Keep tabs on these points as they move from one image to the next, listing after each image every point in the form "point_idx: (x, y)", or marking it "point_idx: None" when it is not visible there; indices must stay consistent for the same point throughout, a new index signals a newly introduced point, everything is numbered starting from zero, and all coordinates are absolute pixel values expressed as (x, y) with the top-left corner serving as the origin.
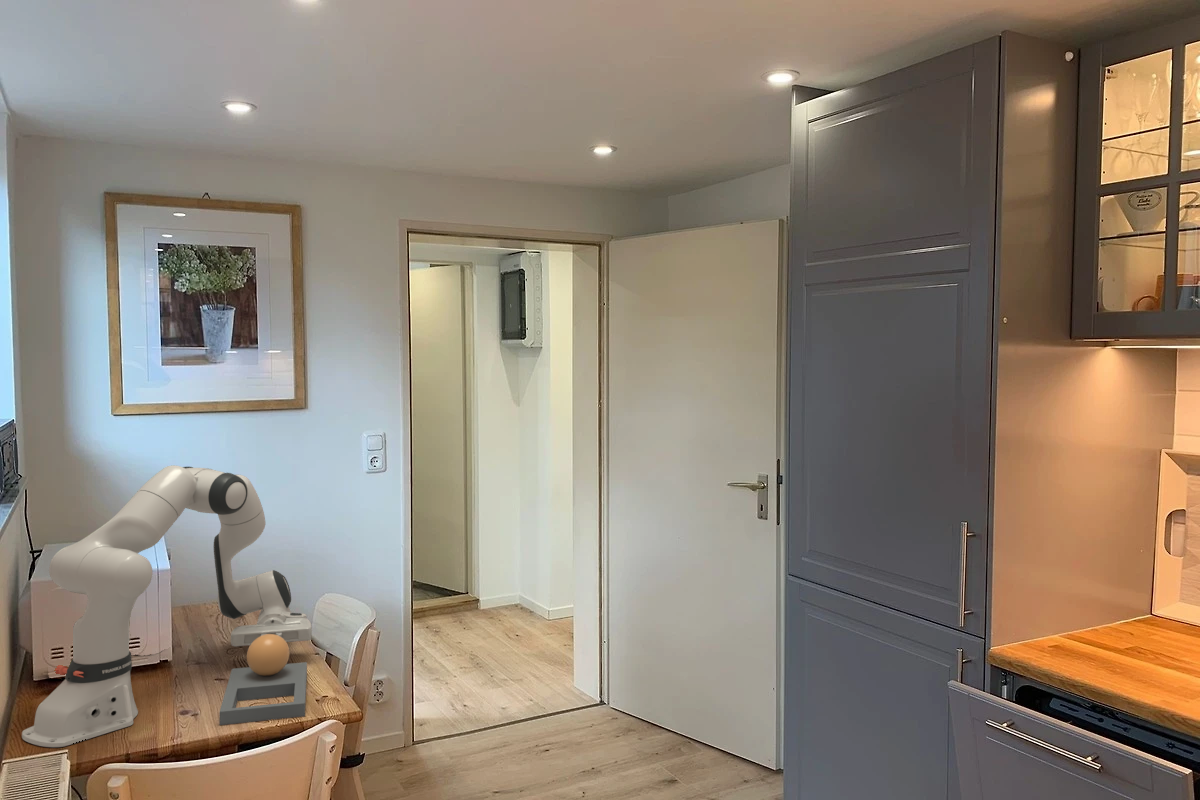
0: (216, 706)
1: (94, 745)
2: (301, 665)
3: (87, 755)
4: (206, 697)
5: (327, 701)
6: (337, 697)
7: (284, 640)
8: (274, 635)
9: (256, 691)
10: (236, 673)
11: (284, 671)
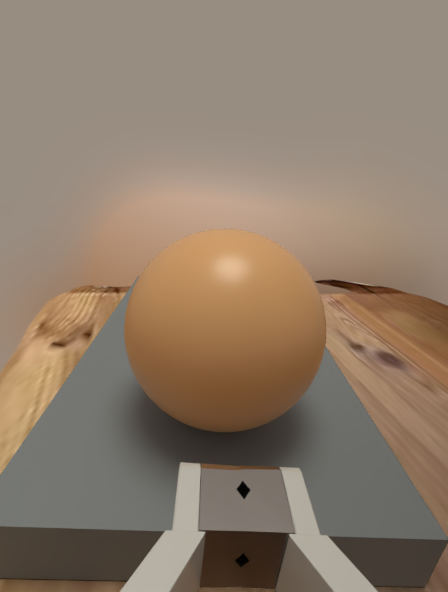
0: None
1: (444, 312)
2: (35, 471)
3: (425, 299)
4: (400, 418)
5: (70, 325)
6: (35, 333)
7: (151, 261)
8: (203, 232)
9: None
10: (368, 455)
11: (146, 418)
